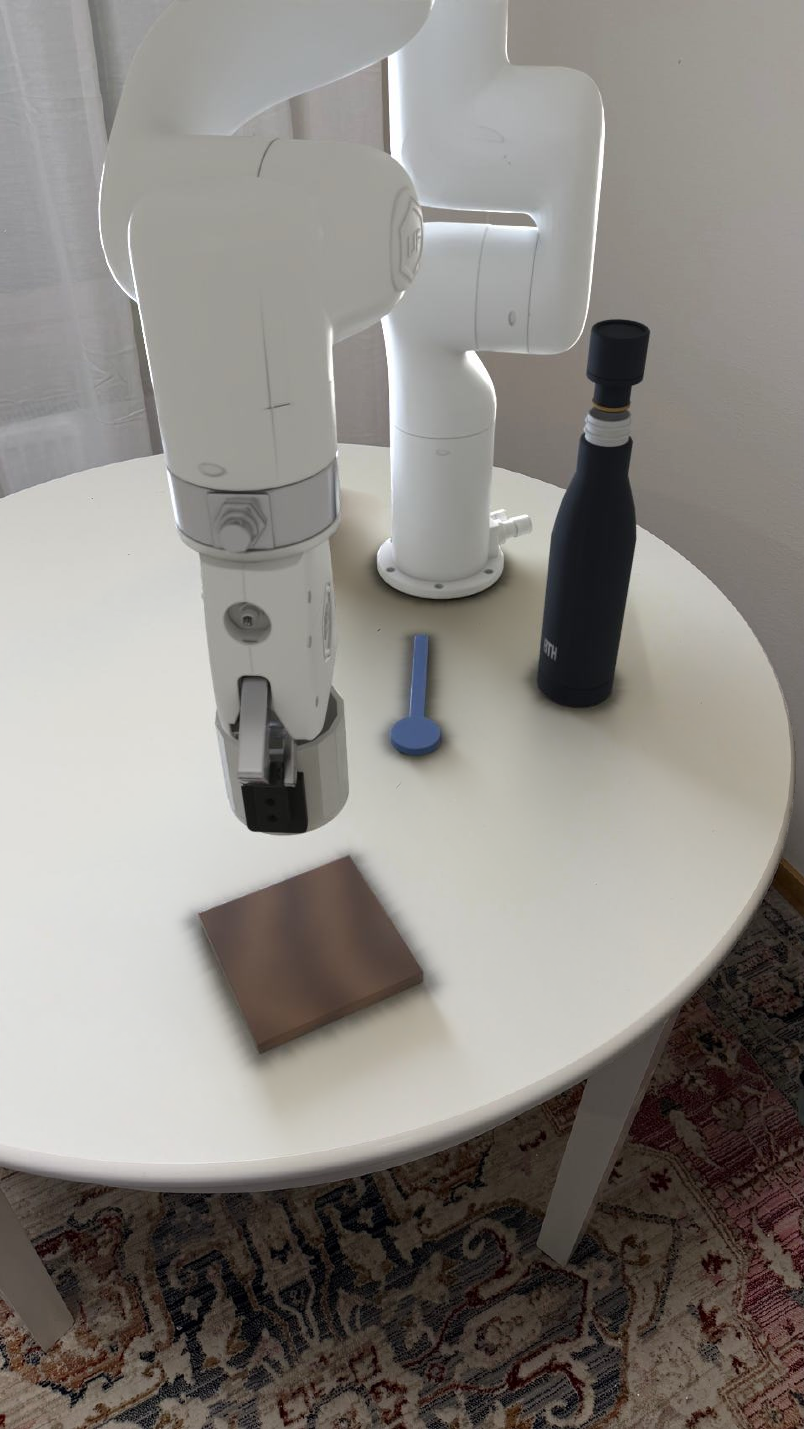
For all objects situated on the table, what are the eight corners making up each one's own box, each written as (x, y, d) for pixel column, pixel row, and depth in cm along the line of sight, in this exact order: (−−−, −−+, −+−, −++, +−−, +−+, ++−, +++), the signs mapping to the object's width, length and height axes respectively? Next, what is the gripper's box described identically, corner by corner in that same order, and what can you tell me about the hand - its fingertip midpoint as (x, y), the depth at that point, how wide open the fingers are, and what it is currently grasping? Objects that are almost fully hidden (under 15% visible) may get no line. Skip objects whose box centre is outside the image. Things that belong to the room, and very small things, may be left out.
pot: (320, 738, 61) (313, 659, 57) (368, 810, 56) (365, 728, 52) (212, 774, 58) (198, 694, 55) (254, 852, 54) (241, 770, 50)
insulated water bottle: (621, 672, 87) (680, 319, 68) (600, 716, 83) (656, 352, 63) (550, 654, 89) (588, 307, 70) (526, 695, 85) (559, 337, 65)
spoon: (399, 639, 91) (399, 633, 91) (443, 640, 91) (444, 634, 90) (389, 754, 79) (389, 748, 79) (440, 756, 79) (440, 749, 79)
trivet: (350, 863, 71) (349, 854, 70) (423, 981, 63) (423, 971, 62) (199, 921, 67) (197, 912, 66) (259, 1054, 59) (257, 1045, 59)
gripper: (316, 599, 38) (339, 902, 50) (356, 412, 52) (367, 685, 63) (122, 595, 39) (189, 897, 50) (211, 411, 52) (248, 682, 63)
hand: (288, 777), depth 56 cm, fingers closed on pot, 7 cm apart
